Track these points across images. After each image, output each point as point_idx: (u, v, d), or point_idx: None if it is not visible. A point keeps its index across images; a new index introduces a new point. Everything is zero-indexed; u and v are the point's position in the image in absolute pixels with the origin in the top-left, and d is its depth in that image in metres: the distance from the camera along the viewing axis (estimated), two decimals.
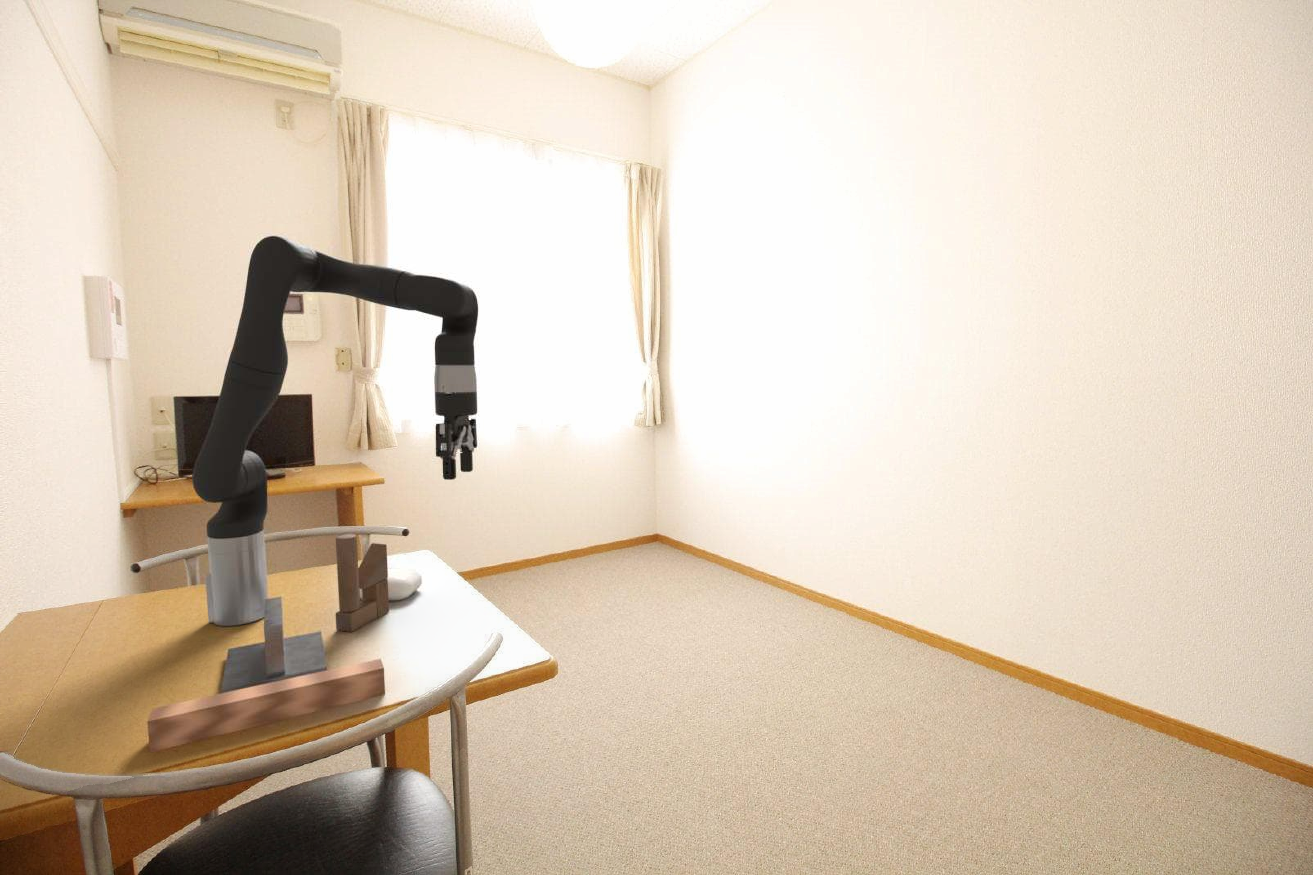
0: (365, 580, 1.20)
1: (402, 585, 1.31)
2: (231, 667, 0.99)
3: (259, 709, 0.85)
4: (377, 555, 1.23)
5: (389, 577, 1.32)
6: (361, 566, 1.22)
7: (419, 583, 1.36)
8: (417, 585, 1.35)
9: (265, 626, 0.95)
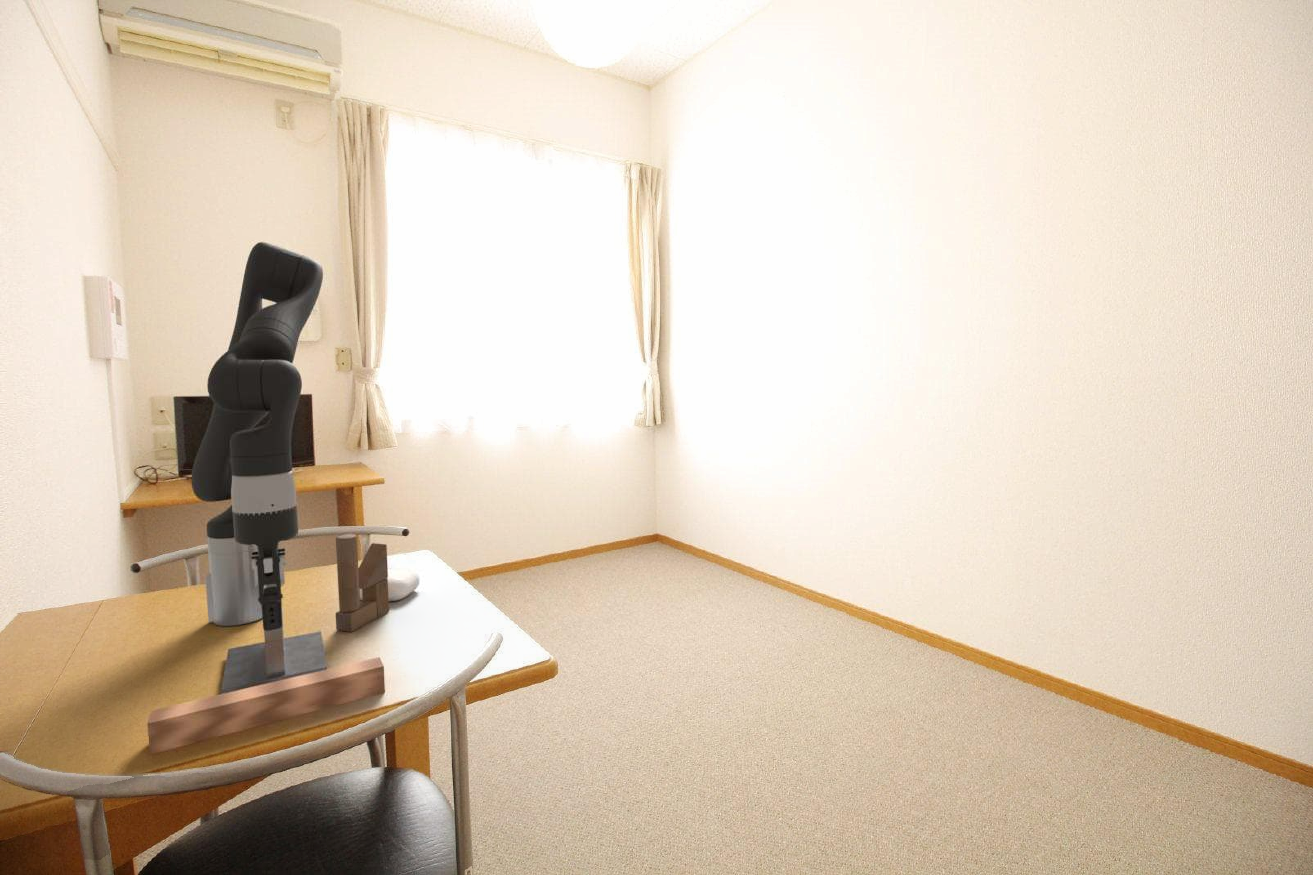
0: (366, 580, 1.20)
1: (398, 586, 1.30)
2: (231, 667, 0.99)
3: (260, 709, 0.85)
4: (377, 555, 1.23)
5: None
6: (361, 566, 1.22)
7: (416, 584, 1.36)
8: (414, 586, 1.35)
9: None
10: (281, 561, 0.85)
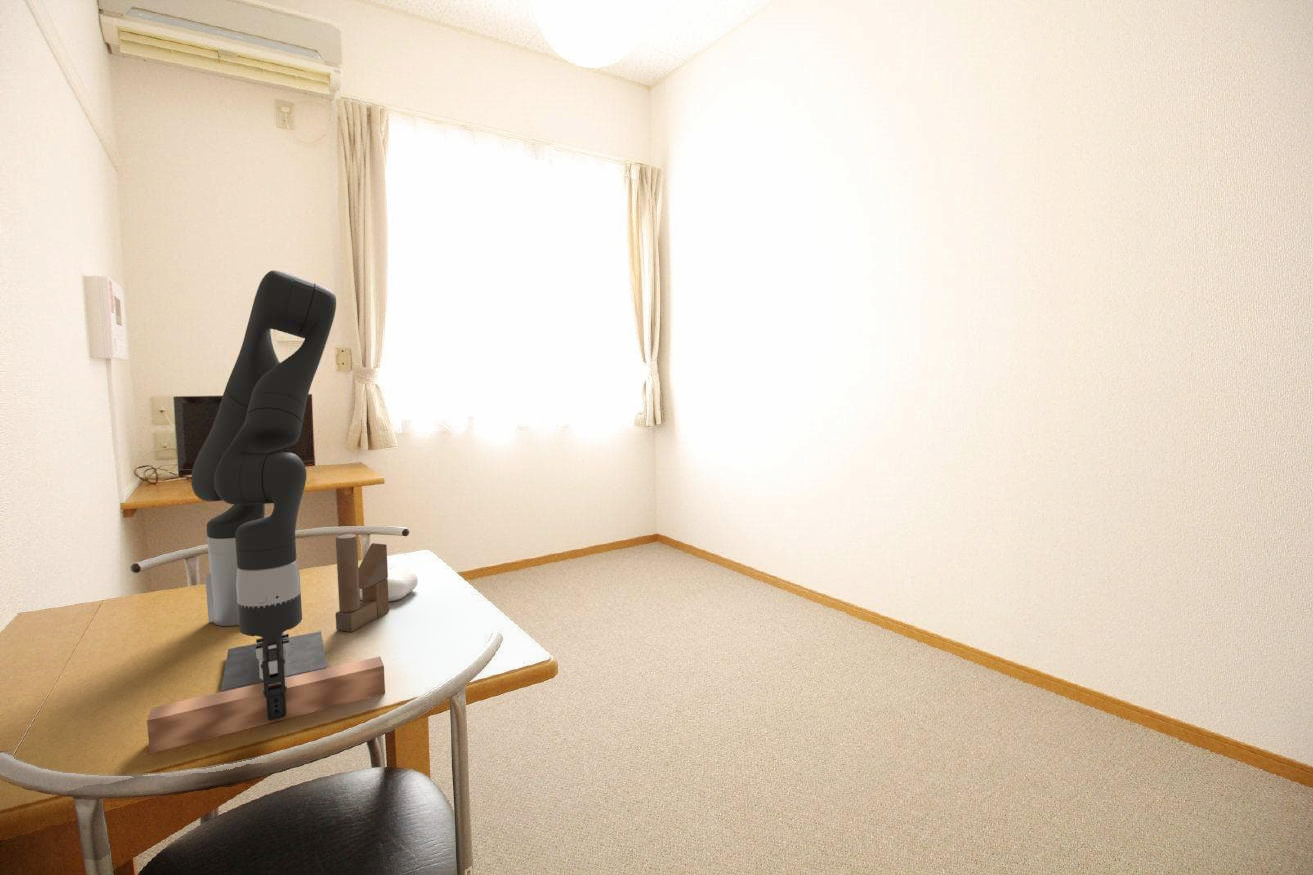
0: (365, 580, 1.20)
1: (396, 586, 1.30)
2: (231, 667, 0.99)
3: (259, 708, 0.85)
4: (377, 555, 1.23)
5: None
6: (361, 566, 1.22)
7: (414, 584, 1.36)
8: (412, 586, 1.35)
9: None
10: (286, 652, 0.86)
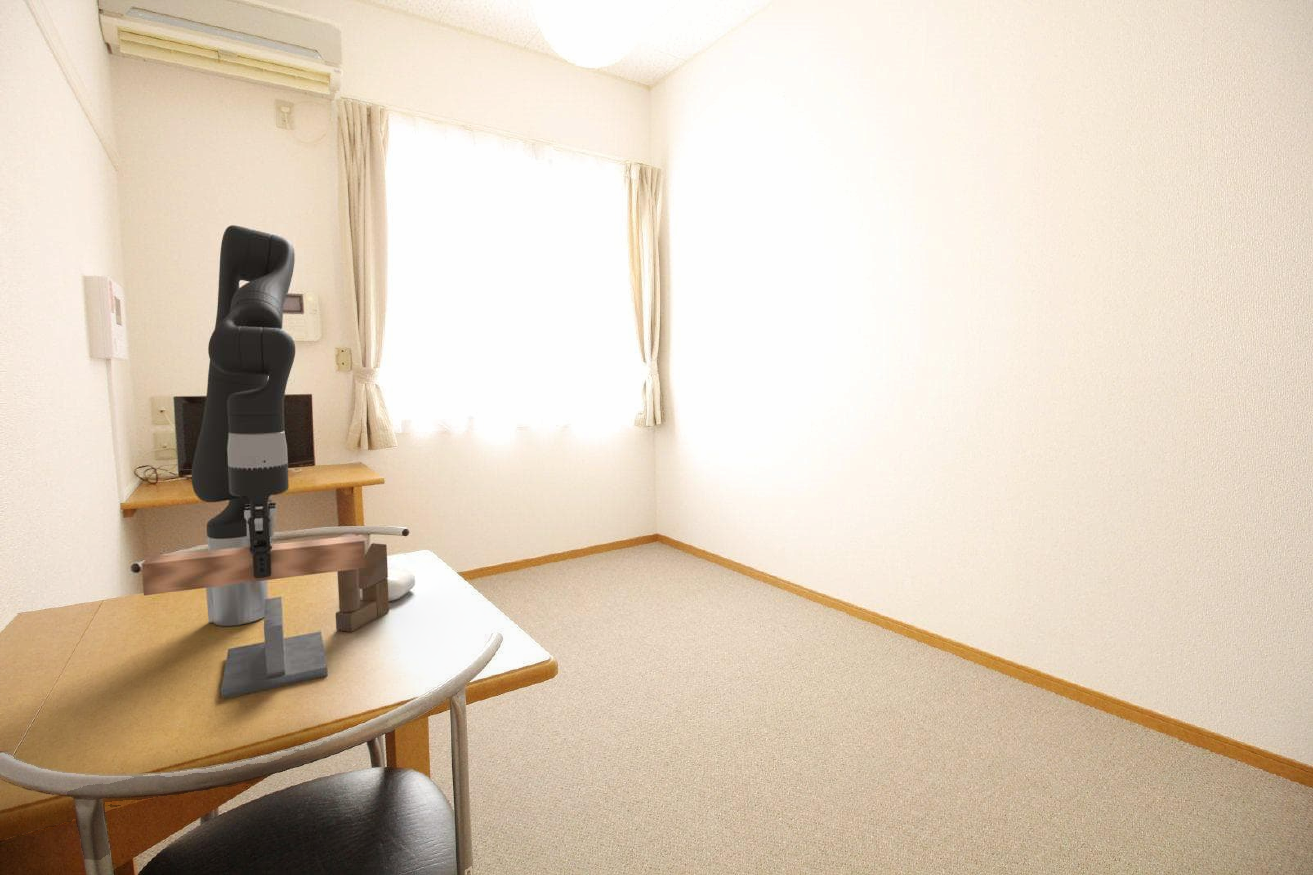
0: (365, 580, 1.20)
1: (393, 586, 1.30)
2: (231, 667, 0.99)
3: (246, 566, 0.92)
4: (377, 555, 1.23)
5: None
6: None
7: (412, 584, 1.35)
8: (409, 586, 1.34)
9: (265, 626, 0.95)
10: (272, 516, 0.92)
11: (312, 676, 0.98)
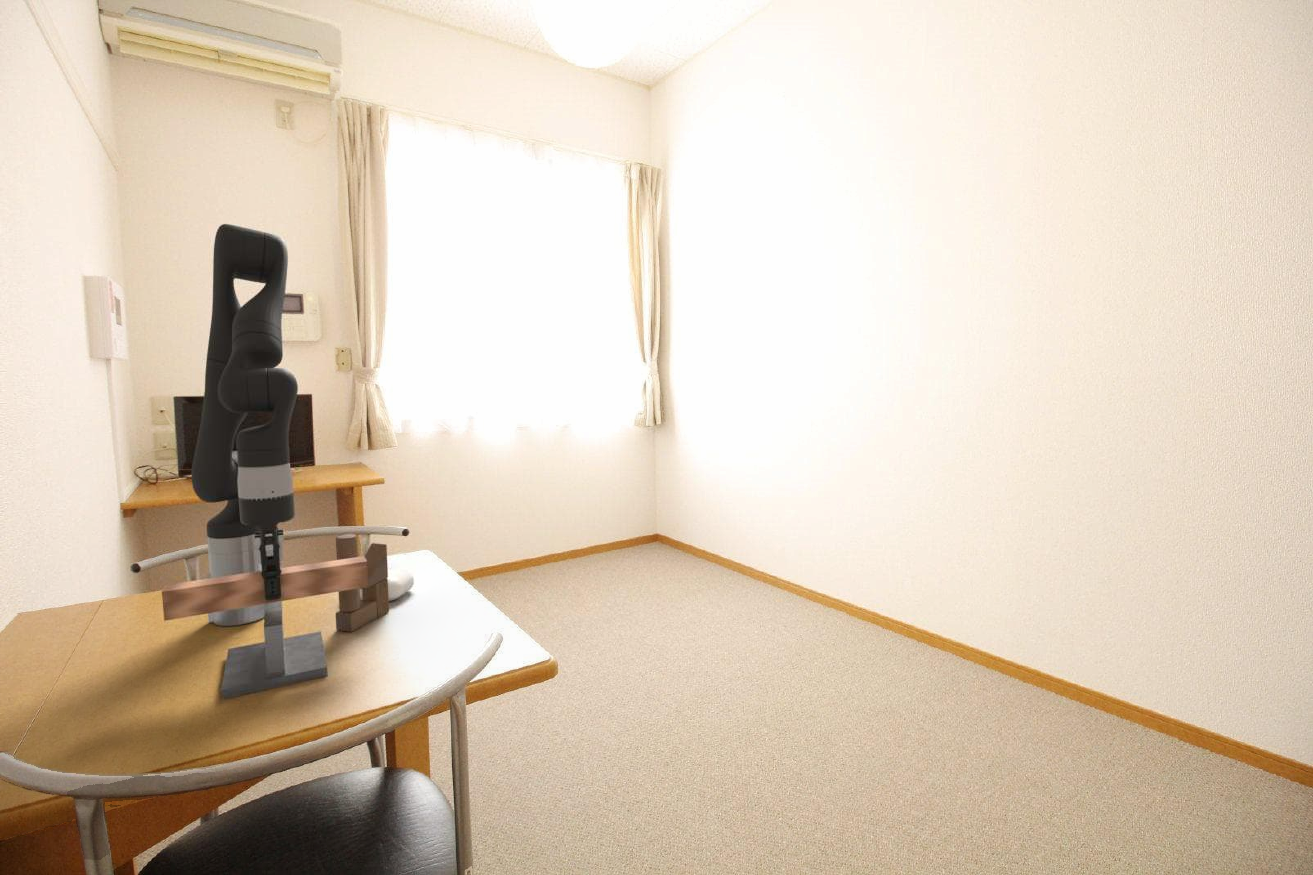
0: None
1: (391, 586, 1.30)
2: (231, 667, 0.99)
3: (258, 589, 0.99)
4: (377, 555, 1.23)
5: None
6: None
7: (410, 584, 1.35)
8: (408, 586, 1.34)
9: (265, 626, 0.95)
10: (280, 542, 0.99)
11: (312, 676, 0.98)
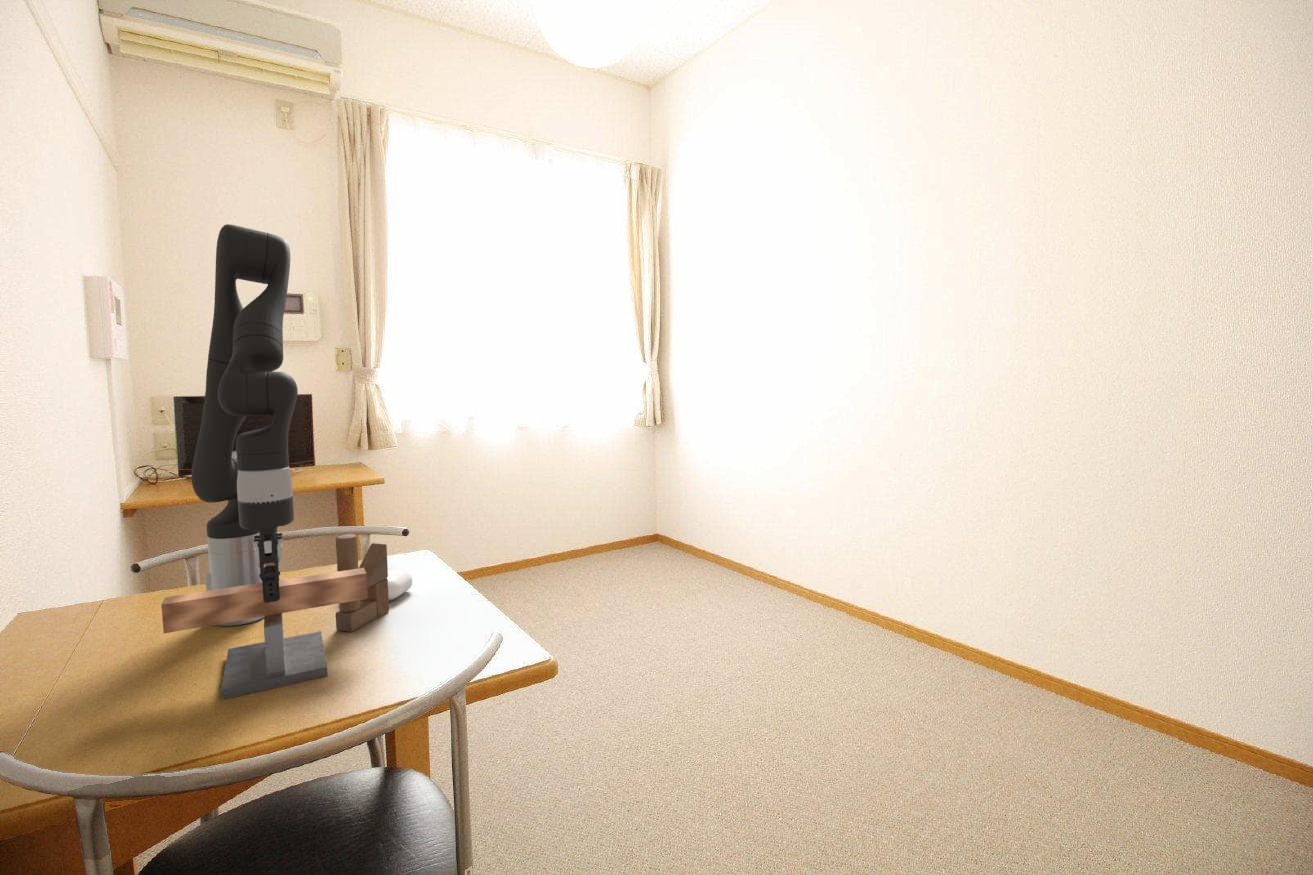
0: None
1: (389, 586, 1.30)
2: (231, 667, 0.99)
3: (257, 601, 0.99)
4: (377, 555, 1.23)
5: None
6: (361, 566, 1.22)
7: (409, 584, 1.35)
8: (406, 586, 1.34)
9: (265, 626, 0.95)
10: (279, 544, 0.99)
11: (312, 676, 0.98)
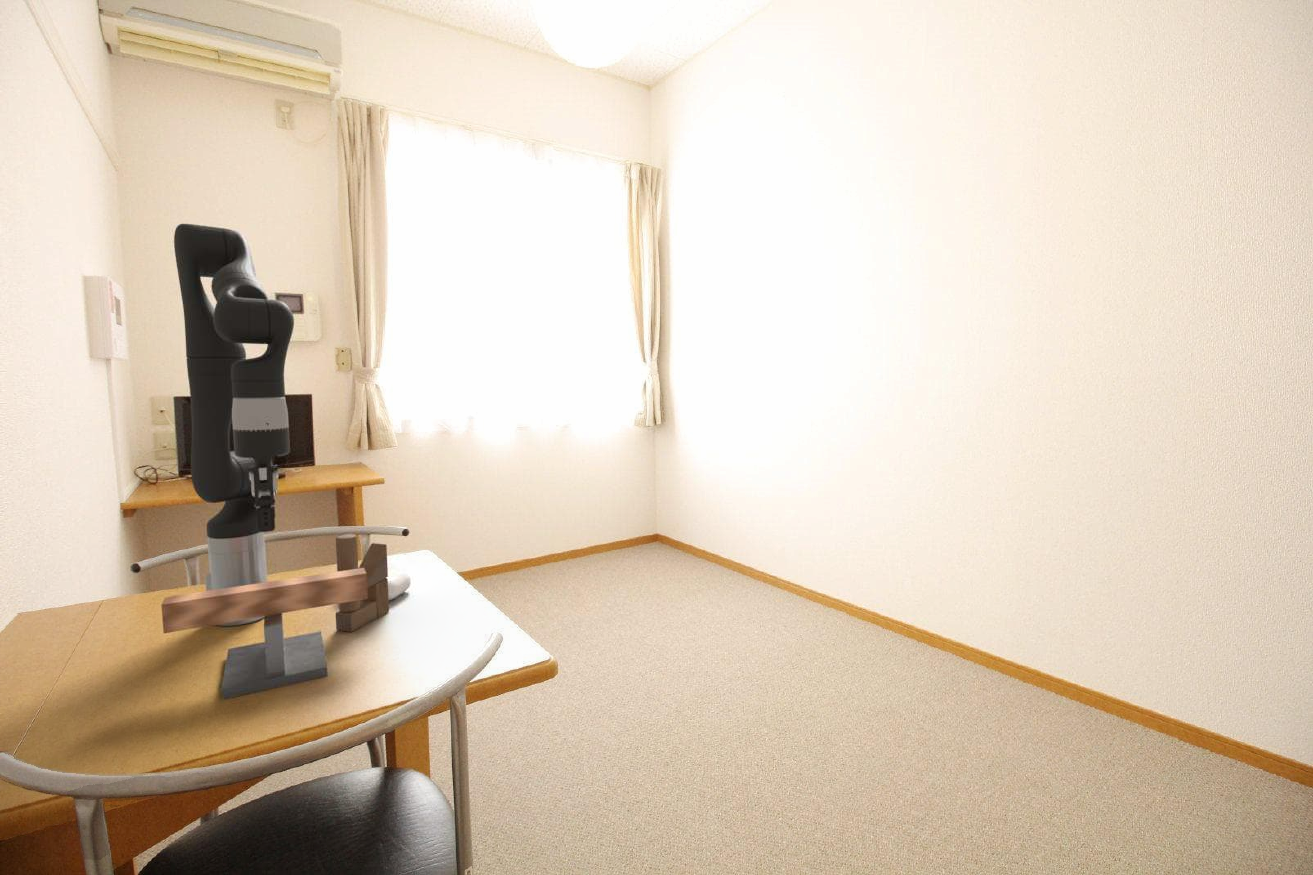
0: None
1: None
2: (231, 667, 0.99)
3: (257, 601, 0.99)
4: (377, 555, 1.23)
5: None
6: (361, 566, 1.22)
7: (407, 585, 1.35)
8: (404, 587, 1.34)
9: (265, 626, 0.95)
10: (275, 474, 0.98)
11: (312, 676, 0.98)
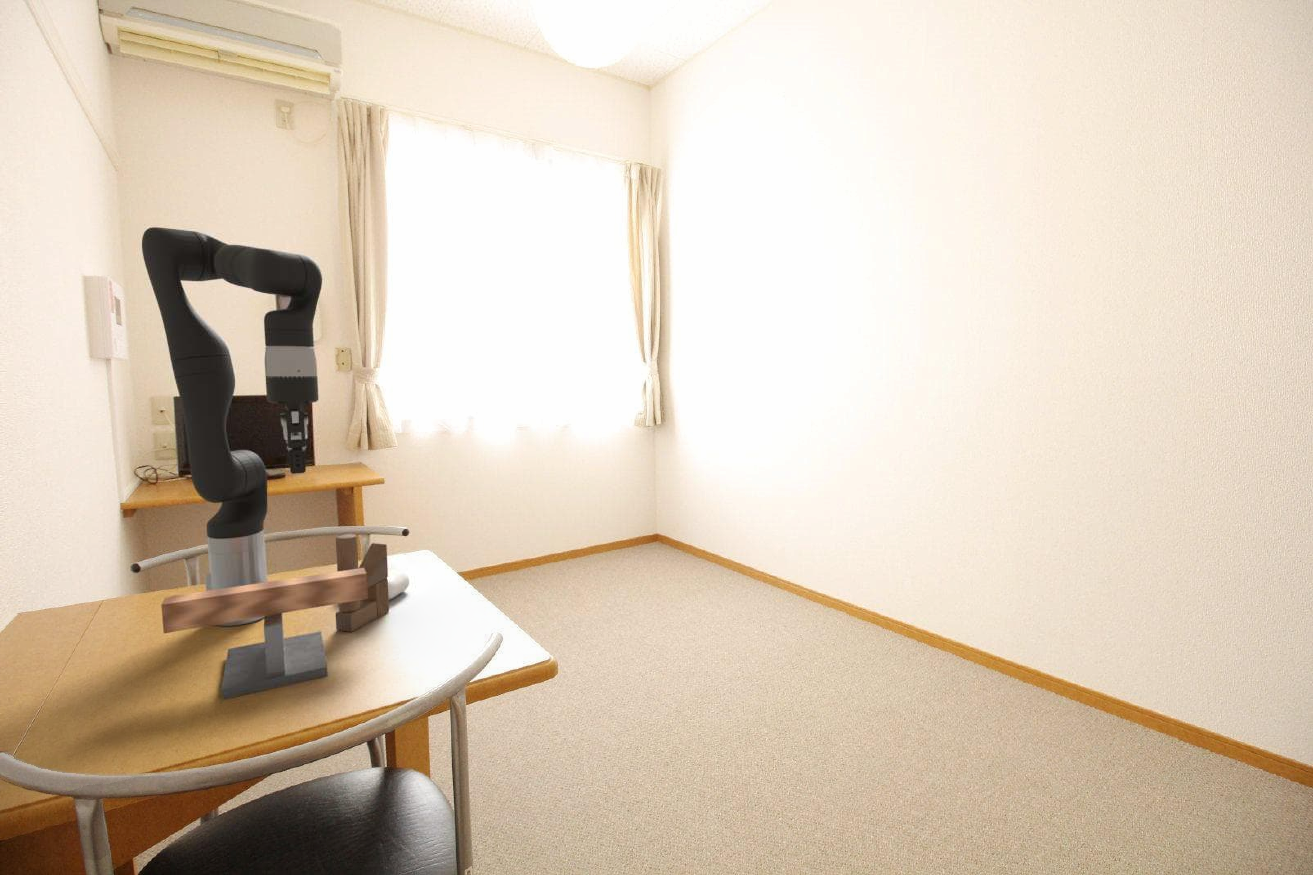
0: None
1: None
2: (231, 667, 0.99)
3: (257, 601, 0.99)
4: (377, 555, 1.23)
5: None
6: (361, 566, 1.22)
7: (405, 585, 1.35)
8: (402, 587, 1.34)
9: (265, 626, 0.95)
10: (305, 420, 1.03)
11: (312, 676, 0.98)
